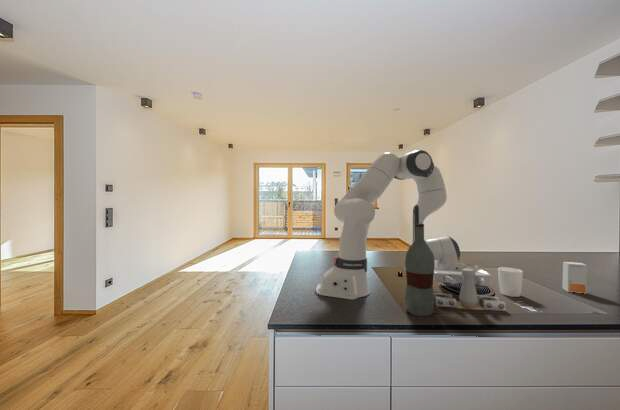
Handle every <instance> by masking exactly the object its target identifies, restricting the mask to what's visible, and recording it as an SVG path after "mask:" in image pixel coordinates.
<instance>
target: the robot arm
mask: <svg viewBox="0 0 620 410" xmlns="http://www.w3.org/2000/svg"><path fill="white" fill-rule="evenodd" d="M393 179H396V180H400V181H403V180H409V179H413V181H414V182H415V184H416V186H417V187H416V189H417V192H418V199H417V202H416V204H415V205H414V206H413V208H412V243H413V242H414V241H415V236H416V225H415V224H424V221H425V220H426V219H427V218H428V217H429V216H430V215H431V214H434V213H435V212H436V211H439V210H440V209H441V208H442V207H444V205H445V203H446V202H447V199H448V198H447V190H446V184H445V181H444V179H443V174H442V172H441V170H440V169H439V167H437V166H436V165H435V163H434V161H433V158H432V156H431V155H430V153H429V152H427V151H426V150H422V149H418V150H413V151H411V152H407V153H404V154H401V155H399V156H397V155H396V154H395V153H393V152H389V151H388V152H383V153H382V154H381V155H379V156H378V157H377V158H376V159H375V160H374V161H373V162H372V163H371V165H370V166H368V169H367V170H366V171H365V172H364V173H363V175H362V176H361V178H360V179H359V180H358V181H357V182H356V184H355V185H353V187H352V188H351V189H350V190H349V191H348V192H347V193H346V194H345V195H344V196H343V197H342V198H341V199H340V200H338V202H336V204H335V205H334V209H333V213H334V216H335V217H336V218H337V220H338V221H340V222H341V223H343V226H342V232H341V233H340V234H341V235H340V236H339V241H338V244H339V247H338V249H339V251H338V254H339V255H335V256H334V257H333V260H334V262H333V263H334V266H332V267H331V268H329V269H328V270H327V271H326V272H324V274H323V275H322V276H321V281H320V282H319V283H318V284H317V285H316V287H315V294H317V295H318V294H319V295H318V296H326V297H329V298H330V297H332V298H339V299H346V300H357V299H359V298H362V297H367V296H368V295H370V293H371V290H370V286H369V283H368V282H369V281H368V274H367V272H368V258H367V239H368V234H369V233H368V232H369V228H370V226H371V225H370V224H371V223H372V221H373V220H374V219H375V215H376V209H375V207H374V205H373V204H372V203H374V202H375V201H376V200H378V199H379V198H380V197H382V195H383V193H384V192H385V191H386V189H387V188H388V186H389V185H390V184H391V182H392V181H393ZM424 240H425V242H426V243H427V245H428V247H429V248H430V250H431V251H432V253H433V256H434V262H435V267H434V275H433V282H436V283H446V284H447V283H449V284H451V285H460V284H462V281H463V275H462V273H461V272H462V269H472V270H474V271H475V272H476V275H475V277H474V282H475V285H478V286H481V287H486V286H487V285H488V286H489V285H492V283H493V277H492V274H491V273H489V272H488V271H486V270H483V269H481V268H479V266H478V265H474V264H469V263H468V264H467V263H464V262H459V261H460V258H461V249H460V247H459V244H458V243H457V241H456V240H455V239H454V238H453V237H451V236H448V235H445V236H439V237H438V236H437V237H434V238H429V239H424Z"/></svg>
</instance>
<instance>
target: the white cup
mask: <svg viewBox="0 0 620 410" xmlns="http://www.w3.org/2000/svg"><path fill="white" fill-rule="evenodd" d="M497 273H498V287H499V293H500V295H503V296H506V297H513V298H518V297H519V298H520V297H521V294H522V292H521V291H522V287H523V274H524V272H523V270H522V269H518V268H514V267H509V266H508V267H506V266H501V267H500V266H499V267H498V268H497Z"/></svg>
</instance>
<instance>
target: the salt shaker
mask: <svg viewBox="0 0 620 410" xmlns="http://www.w3.org/2000/svg"><path fill="white" fill-rule="evenodd" d="M461 273H462V275H463V281H462V283H461V288H460V290H459V296H458V299H459V301H461V303H462V305H463V306H465V307H471V308H473V307H475V306H476V304H477V303H478V292H477V288H476V284H475V282H474V277H475V275H476V272H475V271H474V270H472V269H462V272H461Z"/></svg>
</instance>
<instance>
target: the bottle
mask: <svg viewBox="0 0 620 410" xmlns="http://www.w3.org/2000/svg"><path fill="white" fill-rule="evenodd" d="M415 225H416V236H415V241H414V242H413V241H412V243H411V245H410V246H409V247H408V249H407V251H406V254H405V260H404V264H405V273H406V274H405V275H406V287H405V294H404V300H405V301H404V302H405V308H406V311H407V312H408V313H410V314H411V315H415V316H418V317H428V316H431V315H432V314H433V313H434V308H435V304H436V302H435V301H434V293H435V292H434V288H433V284H434V281H433V275H434V269H435V262H434V256H433V253H432V251H431V250H430V248H429V247H428V245H427V243H426V242H425V240H426V239H425V223H423V224H415Z"/></svg>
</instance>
